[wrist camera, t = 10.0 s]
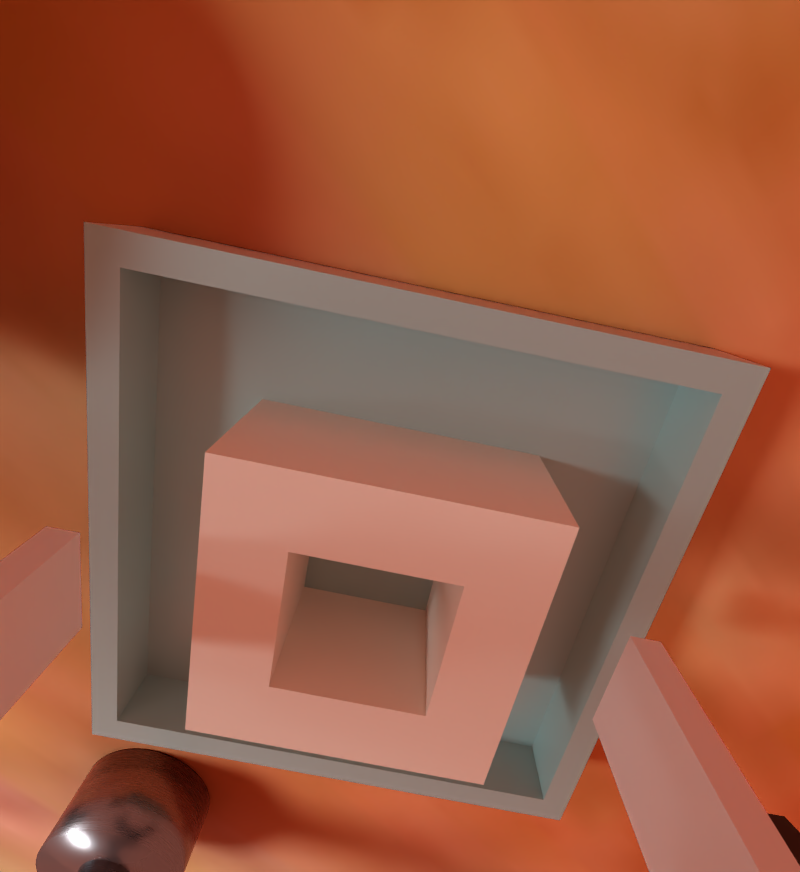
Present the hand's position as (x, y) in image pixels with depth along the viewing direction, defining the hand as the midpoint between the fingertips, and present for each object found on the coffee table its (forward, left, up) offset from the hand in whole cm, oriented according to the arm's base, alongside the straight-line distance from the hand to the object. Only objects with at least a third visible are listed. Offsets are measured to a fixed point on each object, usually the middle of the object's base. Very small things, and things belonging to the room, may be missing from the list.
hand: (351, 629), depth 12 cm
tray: (0, 0, -4) cm, 4 cm away
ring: (0, 0, -4) cm, 4 cm away
